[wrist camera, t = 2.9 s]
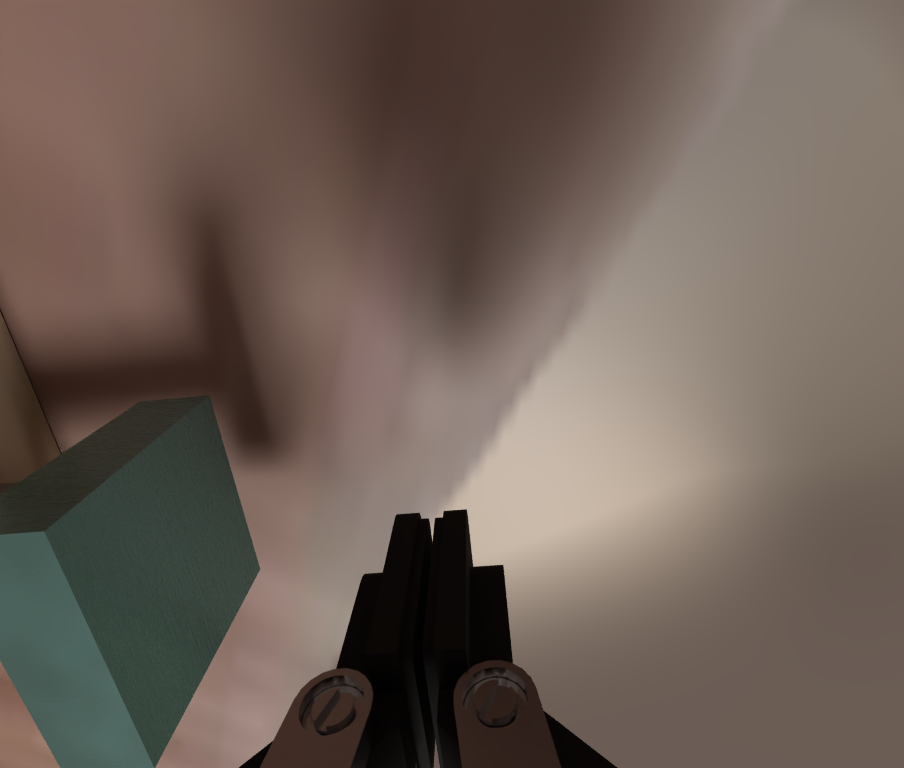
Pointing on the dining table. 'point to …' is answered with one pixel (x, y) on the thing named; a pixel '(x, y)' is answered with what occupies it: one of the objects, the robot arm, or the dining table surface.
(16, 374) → the tunnel
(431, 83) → the dining table surface
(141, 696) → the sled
